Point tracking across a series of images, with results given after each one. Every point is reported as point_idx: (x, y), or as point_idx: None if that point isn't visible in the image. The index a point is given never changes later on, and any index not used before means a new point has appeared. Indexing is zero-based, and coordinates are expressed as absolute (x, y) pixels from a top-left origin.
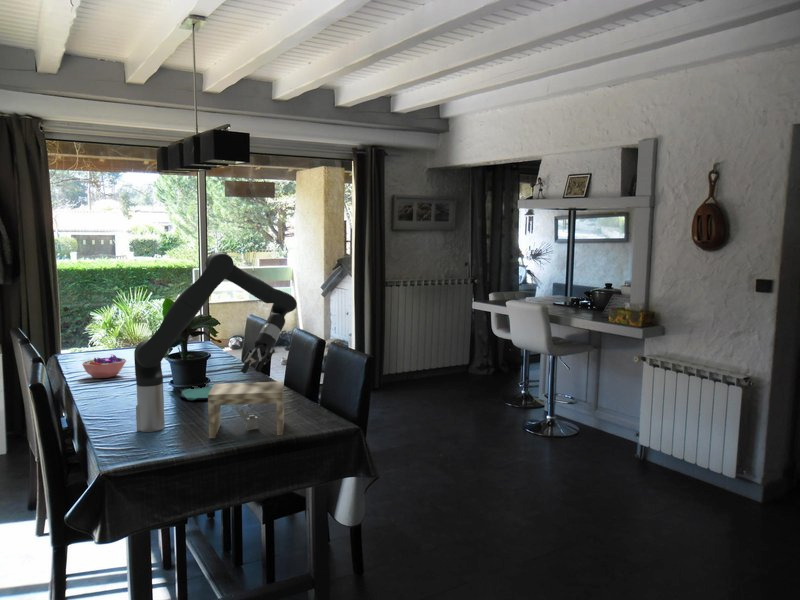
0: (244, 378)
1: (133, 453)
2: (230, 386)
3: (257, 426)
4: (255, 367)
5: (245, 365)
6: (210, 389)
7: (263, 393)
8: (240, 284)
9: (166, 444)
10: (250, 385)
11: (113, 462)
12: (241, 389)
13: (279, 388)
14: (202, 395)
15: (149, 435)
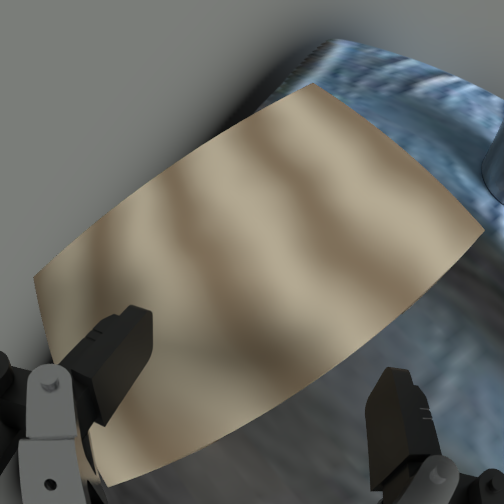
0: None
1: (376, 77)
2: (348, 228)
3: None
4: (133, 318)
5: (397, 435)
6: None
7: (93, 227)
8: None
9: (374, 123)
10: (238, 320)
11: (360, 52)
12: (228, 212)
13: (57, 333)
14: None
15: (464, 145)
